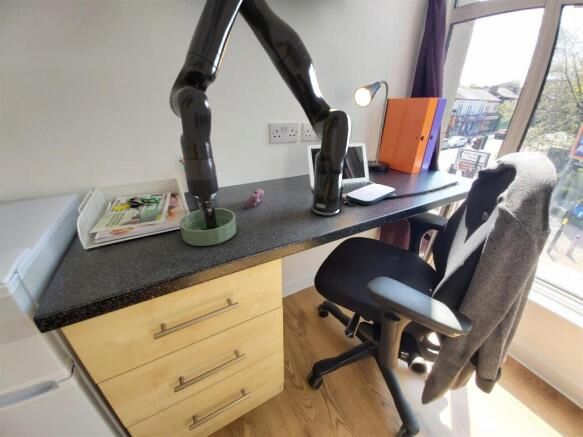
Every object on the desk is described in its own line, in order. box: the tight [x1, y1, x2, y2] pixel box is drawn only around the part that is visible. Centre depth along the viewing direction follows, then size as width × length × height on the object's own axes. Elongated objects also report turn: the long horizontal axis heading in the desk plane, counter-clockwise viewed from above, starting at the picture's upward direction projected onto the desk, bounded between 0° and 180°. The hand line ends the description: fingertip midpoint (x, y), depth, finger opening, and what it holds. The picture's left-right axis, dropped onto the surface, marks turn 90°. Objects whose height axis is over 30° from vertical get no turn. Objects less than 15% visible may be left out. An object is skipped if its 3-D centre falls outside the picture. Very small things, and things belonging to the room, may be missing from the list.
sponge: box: [199, 220, 220, 230], centre depth 68 cm, size 5×4×3 cm
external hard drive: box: [345, 183, 396, 206], centre depth 98 cm, size 24×12×2 cm, turn 132°
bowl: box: [178, 207, 238, 247], centre depth 69 cm, size 15×15×5 cm
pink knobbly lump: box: [242, 188, 265, 209], centre depth 89 cm, size 10×5×7 cm, turn 168°
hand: (210, 232), depth 68 cm, fingers closed on sponge, 4 cm apart
